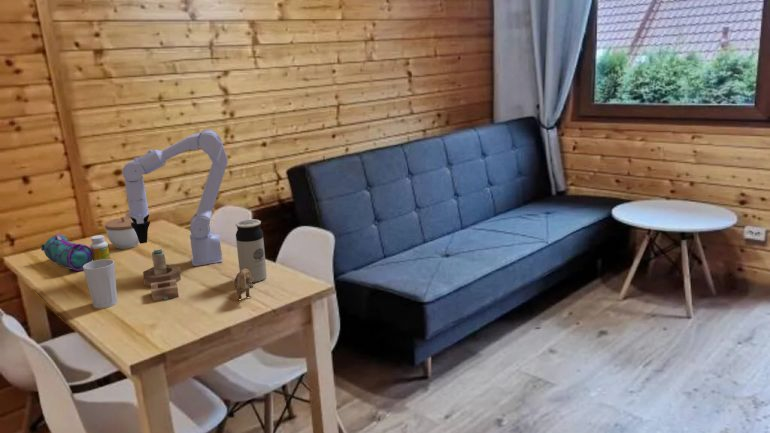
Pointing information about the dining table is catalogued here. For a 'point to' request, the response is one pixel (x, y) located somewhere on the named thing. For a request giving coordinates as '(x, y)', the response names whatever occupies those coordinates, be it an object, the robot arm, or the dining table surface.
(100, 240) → the supplement bottle
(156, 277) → the brown faceted ring
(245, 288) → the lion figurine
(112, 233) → the lidded bowl
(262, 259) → the travel mug
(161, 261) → the brown and teal block
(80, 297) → the dining table surface
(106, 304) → the cup
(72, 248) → the pencil case
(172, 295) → the threaded bead
